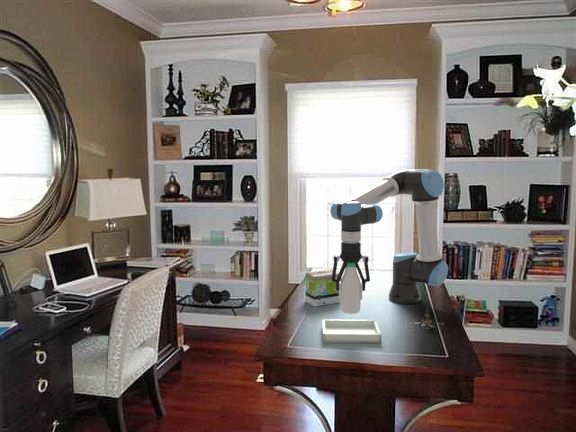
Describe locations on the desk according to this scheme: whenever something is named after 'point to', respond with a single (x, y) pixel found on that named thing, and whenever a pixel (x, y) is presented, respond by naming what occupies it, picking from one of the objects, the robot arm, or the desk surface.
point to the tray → (350, 331)
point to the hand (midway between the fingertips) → (350, 298)
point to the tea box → (321, 288)
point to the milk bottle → (350, 290)
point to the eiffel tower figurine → (426, 320)
